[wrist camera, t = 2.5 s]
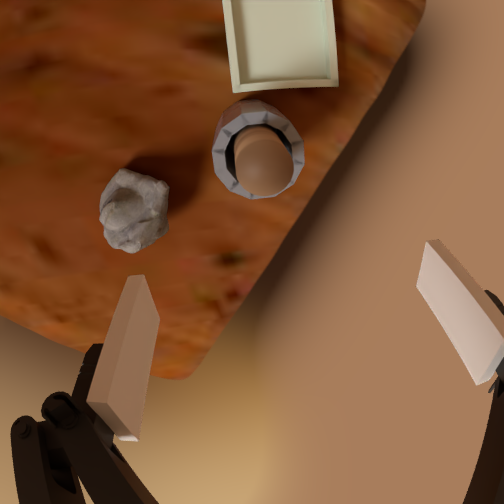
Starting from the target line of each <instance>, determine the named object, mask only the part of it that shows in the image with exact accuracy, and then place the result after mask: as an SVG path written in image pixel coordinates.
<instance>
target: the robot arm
mask: <svg viewBox="0 0 504 504" xmlns="http://www.w3.org/2000/svg"><path fill="white" fill-rule="evenodd" d="M416 287H417V288H418V290H419V291H420V293H421V294H422V296H423V297H424V299H425V300H426V302H427V303H428V305H429V307H430V308H431V310H432V311H433V313H434V314H435V316H436V317H437V319H438V320H439V322H440V324H441V325H442V327H443V329H444V330H445V332H446V333H447V335H448V336H449V338H450V340H451V342H452V343H453V345H454V347H455V348H456V350H457V352H458V353H459V355H460V357H461V359H462V360H463V362H464V364H465V366H466V367H467V369H468V371H469V373H470V375H471V376H472V378H473V380H474V382H475V383H476V385H479V384H481V383H483V382H485V381H488V380H490V378H491V377H492V375H493V374H494V372H495V371H496V372H497V374H498V377H497V379H496V380H495V382H494V383H493V385H492V386H491V388H490V389H489V392H488V393H490V392H491V391H492V390H493V389H494V393H493V400H492V405H491V410H490V415H489V420H488V424H487V428H486V432H485V436H484V440H483V444H482V448H481V451H480V455H479V458H478V461H477V464H476V468H475V471H474V474H473V477H472V480H471V483H470V486H469V488H468V491H467V494H466V497H465V499H464V502H463V504H504V306H503V304H502V302H501V301H500V300H499V299H498V297H497V296H495V295H494V294H493V293H491V292H490V291H488V290H485V291H484V290H483V289H482V288H481V287H480V285H479V284H478V283H477V282H476V281H475V279H474V278H473V277H472V276H471V275H470V274H469V272H468V271H467V270H466V269H465V268H464V267H463V265H462V264H461V263H460V262H459V261H458V260H457V259H456V258H455V257H454V256H453V254H452V253H451V252H450V251H449V250H448V249H447V248H446V247H445V246H444V245H443V244H442V242H441V241H440V240H439V239H437V240H430V241H426V244H425V250H424V254H423V259H422V264H421V268H420V272H419V276H418V281H417V285H416ZM159 322H160V318H159V315H158V313H157V310H156V307H155V304H154V302H153V299H152V296H151V293H150V291H149V288H148V285H147V282H146V279H145V276H144V274H143V275H134V276H128V278H127V281H126V284H125V286H124V289H123V291H122V294H121V297H120V299H119V302H118V305H117V307H116V310H115V313H114V316H113V319H112V321H111V324H110V327H109V330H108V333H107V336H106V339H105V342H104V344H93V345H92V346H91V347H90V349H89V350H88V351H87V352H86V354H85V357H84V360H83V363H82V366H81V369H80V372H79V373H80V374H79V375H78V378H77V381H76V384H75V387H74V390H73V393H72V396H70V395H69V394H68V393H65V392H55V393H53V394H51V395H50V396H49V397H47V398H46V400H45V401H44V403H43V405H42V409H41V413H42V417H43V418H44V419H45V420H46V421H42V422H36V421H35V420H34V419H33V418H32V417H30V416H22V417H20V418H18V419H17V420H16V421H15V422H14V423H13V425H12V427H11V447H12V457H13V466H14V474H15V481H16V487H17V493H18V499H19V504H86V503H85V499H84V496H83V493H82V489H81V486H80V482H79V479H78V477H79V478H80V480H81V482H82V484H83V485H84V487H85V489H86V491H87V492H88V494H89V496H90V497H91V499H92V501H93V502H94V504H159V503H158V502H157V501H156V500H155V498H154V497H153V496H152V495H151V493H150V492H149V491H148V490H147V488H146V487H145V486H144V484H143V483H142V482H141V481H140V479H139V478H138V476H136V474H135V472H134V471H133V470H132V468H131V467H130V466H129V464H128V463H127V461H126V460H125V459H124V457H123V456H122V454H121V453H120V451H119V450H118V448H117V447H116V445H115V444H114V443H113V437H114V434H115V435H116V436H117V437H118V438H119V439H120V440H127V441H139V437H140V429H141V423H142V416H143V409H144V403H145V397H146V391H147V385H148V379H149V374H150V368H151V363H152V357H153V352H154V347H155V342H156V337H157V332H158V327H159Z"/></svg>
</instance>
